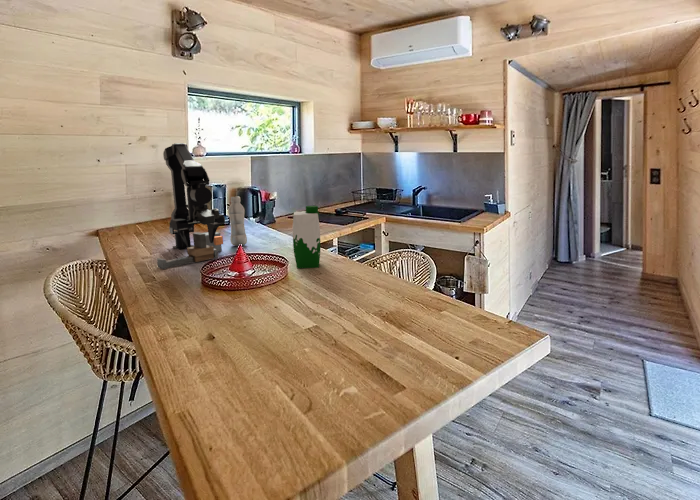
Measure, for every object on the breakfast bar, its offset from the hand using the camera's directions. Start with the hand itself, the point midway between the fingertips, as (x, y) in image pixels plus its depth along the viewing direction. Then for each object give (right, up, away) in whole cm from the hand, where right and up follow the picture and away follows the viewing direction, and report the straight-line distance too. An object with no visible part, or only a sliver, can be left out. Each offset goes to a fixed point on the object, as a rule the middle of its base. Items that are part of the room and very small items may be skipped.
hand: (200, 245), depth 168 cm
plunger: (+2, +1, +12) cm, 12 cm away
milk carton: (+40, -7, -10) cm, 42 cm away
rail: (-3, -6, -2) cm, 7 cm away
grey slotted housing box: (-1, -2, +16) cm, 16 cm away
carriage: (0, -5, +1) cm, 6 cm away
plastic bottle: (+8, 0, +24) cm, 26 cm away
